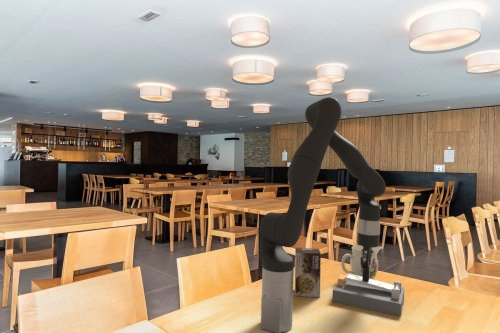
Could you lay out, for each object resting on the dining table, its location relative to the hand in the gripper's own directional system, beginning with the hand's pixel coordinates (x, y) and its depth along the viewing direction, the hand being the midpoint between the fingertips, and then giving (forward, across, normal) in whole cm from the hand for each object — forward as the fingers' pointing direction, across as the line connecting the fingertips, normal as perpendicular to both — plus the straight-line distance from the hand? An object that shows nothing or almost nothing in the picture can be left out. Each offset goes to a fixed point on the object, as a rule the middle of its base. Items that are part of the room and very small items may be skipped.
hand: (365, 279), depth 122 cm
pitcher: (+7, +20, +4) cm, 22 cm away
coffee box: (+8, -6, +20) cm, 22 cm away
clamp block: (+7, 0, -1) cm, 7 cm away
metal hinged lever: (+2, 0, -2) cm, 3 cm away
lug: (+3, 0, +8) cm, 9 cm away
